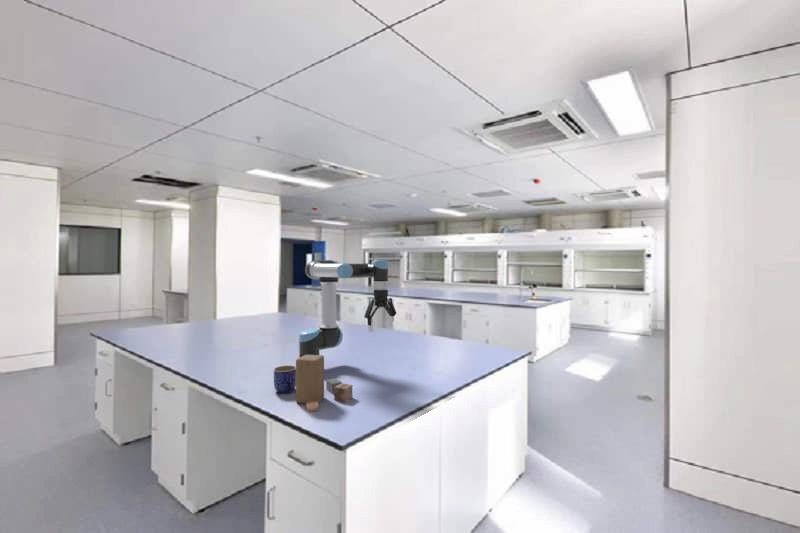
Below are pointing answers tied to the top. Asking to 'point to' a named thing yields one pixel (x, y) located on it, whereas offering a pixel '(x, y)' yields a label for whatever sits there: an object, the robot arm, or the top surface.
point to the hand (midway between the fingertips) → (380, 329)
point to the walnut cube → (343, 392)
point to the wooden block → (309, 378)
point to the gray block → (332, 385)
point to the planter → (285, 379)
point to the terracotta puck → (312, 406)
